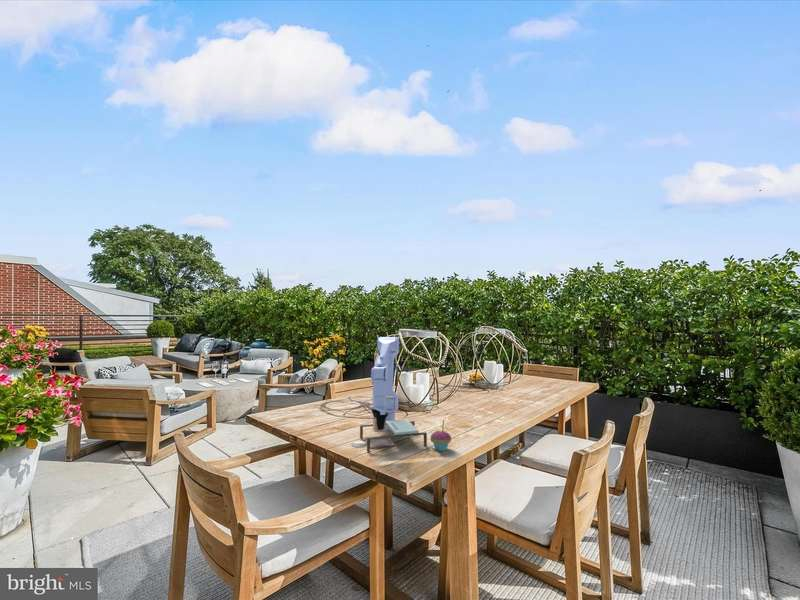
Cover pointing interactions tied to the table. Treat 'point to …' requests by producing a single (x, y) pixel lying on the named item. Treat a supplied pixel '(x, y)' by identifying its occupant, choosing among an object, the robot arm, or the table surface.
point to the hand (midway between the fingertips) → (379, 427)
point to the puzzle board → (382, 439)
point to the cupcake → (441, 439)
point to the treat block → (377, 427)
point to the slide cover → (401, 427)
